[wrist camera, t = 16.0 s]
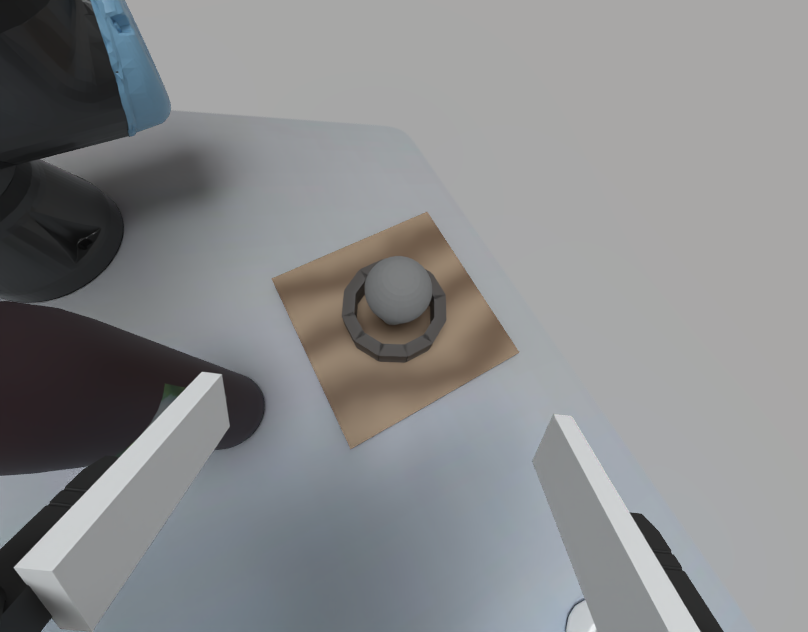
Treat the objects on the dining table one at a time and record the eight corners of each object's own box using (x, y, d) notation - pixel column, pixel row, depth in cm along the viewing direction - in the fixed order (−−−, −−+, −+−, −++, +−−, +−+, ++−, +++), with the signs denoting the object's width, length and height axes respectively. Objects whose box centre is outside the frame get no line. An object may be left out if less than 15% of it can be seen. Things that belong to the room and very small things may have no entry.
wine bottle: (190, 455, 31) (-1904, 746, 3) (193, 380, 33) (-928, 99, 5) (267, 441, 32) (-695, 550, 3) (264, 369, 34) (-334, 72, 6)
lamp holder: (274, 282, 37) (262, 265, 33) (426, 216, 41) (430, 195, 38) (351, 448, 32) (347, 451, 28) (515, 354, 36) (531, 345, 32)
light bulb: (409, 283, 37) (423, 235, 28) (427, 332, 35) (449, 298, 26) (358, 298, 36) (354, 252, 26) (374, 349, 34) (377, 319, 25)
